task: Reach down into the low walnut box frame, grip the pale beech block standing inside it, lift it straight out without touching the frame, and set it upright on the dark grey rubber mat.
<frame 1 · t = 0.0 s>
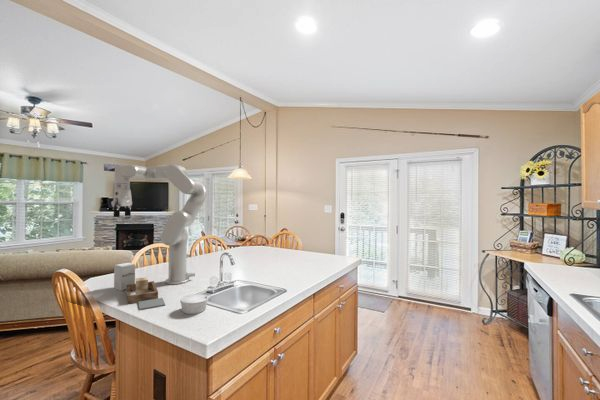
hand: (122, 216, 167), 37 cm above the counter, tool pointing down, fingers open, 9 cm apart
supplement box: (124, 288, 154), on the counter
mat: (151, 304, 131), on the counter
block: (141, 287, 143), in the box frame
ramekin: (194, 310, 124), on the counter
box frame: (141, 295, 143), on the counter
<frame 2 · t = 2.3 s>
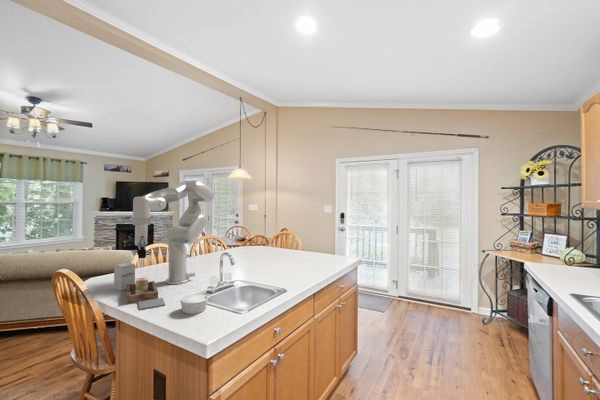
hand: (141, 256, 142), 19 cm above the counter, tool pointing down, fingers open, 9 cm apart
nothing on the counter moved.
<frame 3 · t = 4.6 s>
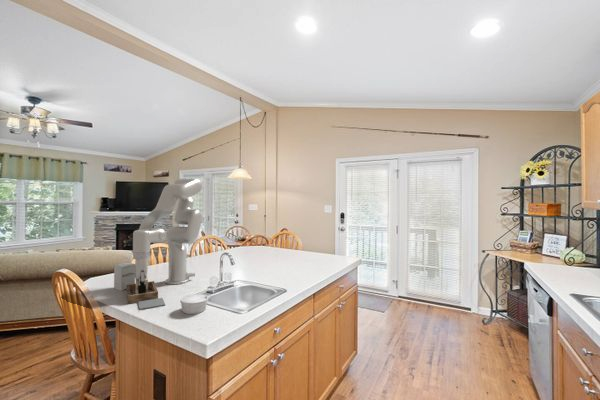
hand: (141, 291, 143), 2 cm above the counter, tool pointing down, fingers closed on block, 5 cm apart
block: (141, 287, 143), in the box frame, touching gripper
everything else where it was.
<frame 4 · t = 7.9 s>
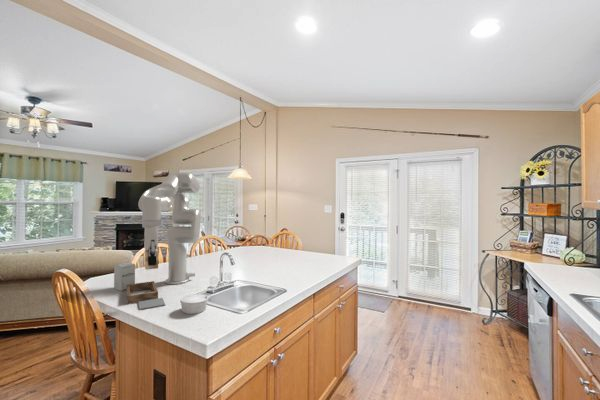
hand: (151, 263, 131), 18 cm above the counter, tool pointing down, fingers closed on block, 5 cm apart
block: (151, 259, 130), point 20 cm above the counter, touching gripper
everything else where it was.
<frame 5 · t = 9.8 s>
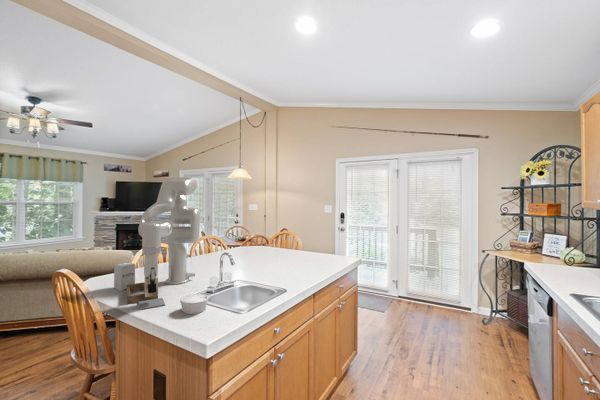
hand: (151, 290, 130), 6 cm above the counter, tool pointing down, fingers closed on block, 5 cm apart
block: (151, 285, 130), point 8 cm above the counter, touching gripper
everything else where it was.
when the fingers open (4 cm above the counter, at t = 11.2 s): block drops 1 cm, resting on mat.
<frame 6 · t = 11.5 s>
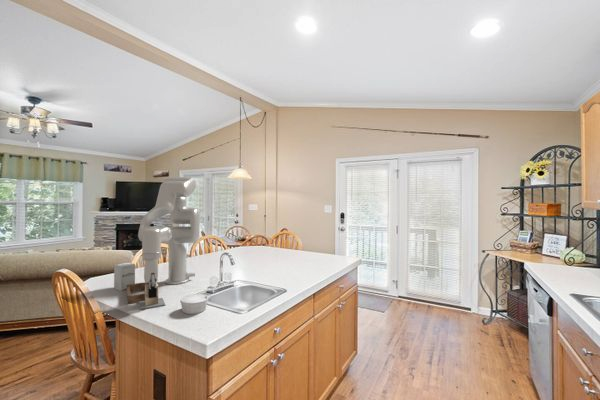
hand: (151, 294, 131), 4 cm above the counter, tool pointing down, fingers open, 7 cm apart
block: (151, 294, 131), on the mat, point 5 cm above the counter
everything else where it was.
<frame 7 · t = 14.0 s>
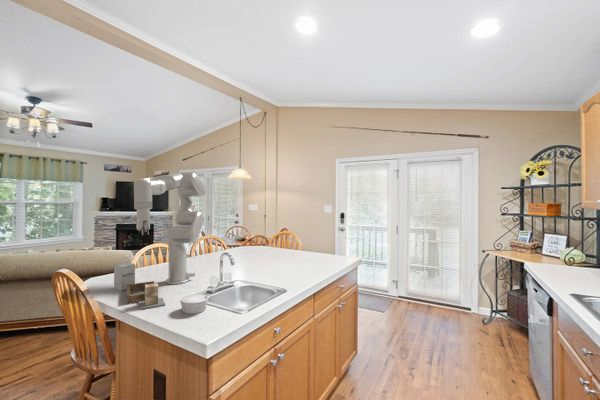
hand: (144, 241, 137), 27 cm above the counter, tool pointing down, fingers open, 9 cm apart
nothing on the counter moved.
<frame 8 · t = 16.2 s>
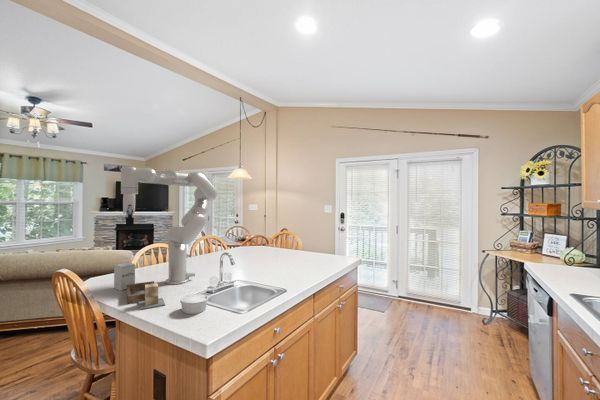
hand: (129, 225, 147), 34 cm above the counter, tool pointing down, fingers open, 9 cm apart
nothing on the counter moved.
at the end: block inside the target area on the mat (0.0 cm from its centre), point 4.6 cm above the mat's base; block tilted 0°; the gripper is holding nothing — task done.
